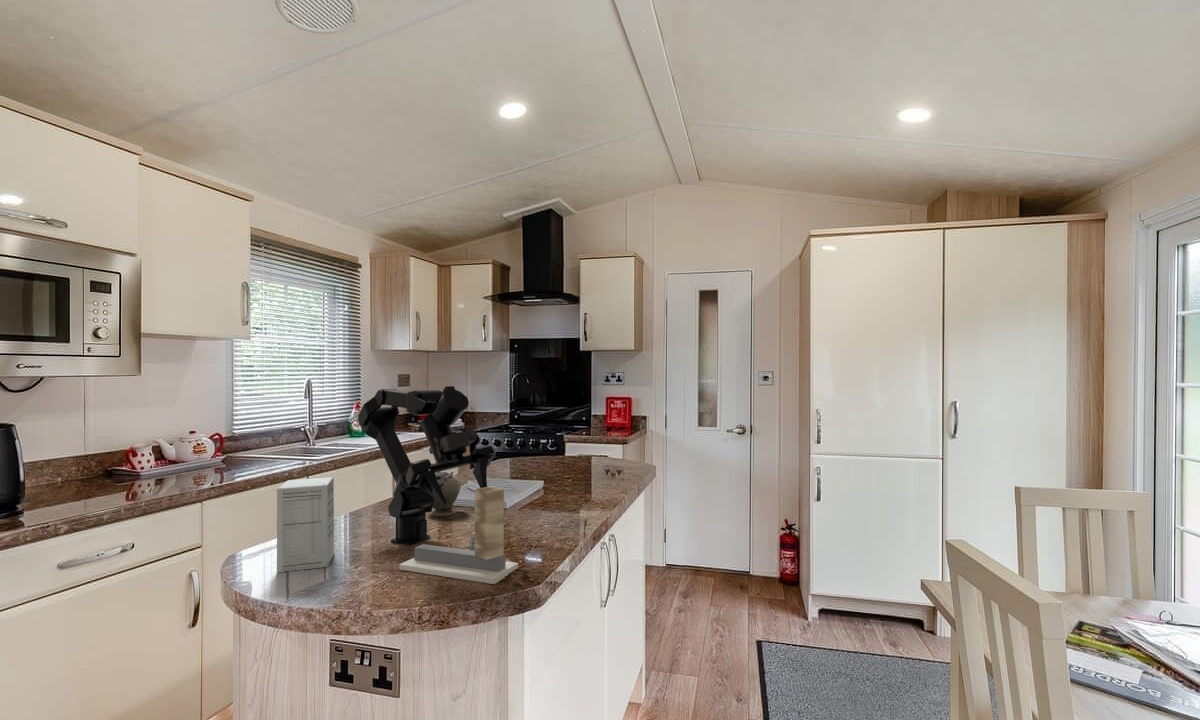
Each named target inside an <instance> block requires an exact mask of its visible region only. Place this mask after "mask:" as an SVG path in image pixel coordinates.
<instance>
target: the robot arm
mask: <svg viewBox="0 0 1200 720" xmlns="http://www.w3.org/2000/svg"><path fill="white" fill-rule="evenodd" d="M469 405H470V402H469V399H468V397H467V396H466V395H465V394H464V393H463V392H462V391H459V390H457V389H456V388H455V386H453V385H449V386H448V385H447V386H444V388H443V390H442V391H441V390H440V389H428V390H427V389H425V390H424V389H423V390H422V389H421V390H420V389H419V390H417V389H416V390H412V391H411V390H410V391H408V390H400V389H397V388H380V389H379V390H377V391H376V393H375V395H374V396H373V397H372V398H371V399H369V400H368V401H366V402H365V403H363V406H362V408H361V409H360V411H359V413H358V416H357V421H358V425H359V426H360V427H361V429H362V431H363V432H364V434H365V435H366V436H368V437H369V438H371V439H373V440H375V441H376V444H377V445H378V447H379V449H380V452H381V454H382V456H383V458H384V460H385V463H386V464H387V467H388V469H389V471H390V474H391V475H392V477H393V479H394V482H395V487H394V490H393V498H392V499H391V501H390V503H389V505H388V508H387V509H388V514H389V516H390V517H393V518H395V537H394V538H392V539H390V543H395V544H403V545H409V546H410V545H411V546H414V545H415V544H417V543H420V542H422V541H425V540H428V539H429V538H430V537H431V535H430V534H428V520H427V516H426V515H427V514H426V513H432V512H433V509H434V508H433V503H434V499H436V500H437V501H438V502H439V503H440V504H441V505H443V506H446V500H445V497H444V495H443V493H442V490H441V488H440V486H439V484H438V482H437V479H436V472H445V471H447V470H452V469H455V468H460V467H464V466H467V465H470V466H471V468H472V469H473V470H472V473H473V476H474V477H475V480H476V482H477V484H478V486H479V488H484V487H488V481H487V478H488V477H487V469H488V467H489V466H490V464H491V463H492V462H493V459H494V458H495V457H496V455H497V452H496V450H495V448H494V446H492V445H490V444H486V445H482V446H481V445H480V446H477V447H474V449H473V451H472V454H468V455H464V454H465V453H466V452H467V448H468V447H471V443H474V442H476V441H477V433H476V431H475V430H474V427H473V426H469V427H465V428H464V429H462V431H460V432H457V431H453V428H452V425H454V424H456V423H457V421H458V420H459V419H460V417H461V416H462V415H463V413H465V411H466V409H467V408H468V407H469ZM399 408H403V409H406V411H407V413H409V414H411V415H412V416H424V417H423V419H421V420H420V424H419V426H418V428H417V432H419V433H424V435H425V437H426V441H427V443H428V445H429V450H428V451H429V455H433V458H434V461H435V463H431V460H430V459H429V458H424V459H421V460H416V461H412V462H411V460H410V458H409V457H408V455H407V452H406V450H405V449H404V446H403V445H402V443H401V441H400V439H399V437H398V435H397V434H398V433H397V432H396V430H395V427H396V423H397V419H398V417H399V415H400V411H399Z"/></svg>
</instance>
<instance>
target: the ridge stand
mask: <svg viewBox="0 0 1200 720" xmlns="http://www.w3.org/2000/svg"><path fill="white" fill-rule="evenodd" d="M413 553H414V557H413V558H411V559H408V560H406V561H404V562H402V563H400V564H399V570H400V571H406V572H415V573H420V574H427V575H433V576H439V577H445V578H450V579H451V578H452V579H459V580H464V581H465V580H466V581H471V582H477V583H483V582H484V584H491V585H495V584H497V583H498V582H500V581H501V580H503V579H504V578H506V577H507V576H509V575H510V574H511V573H510V572H512V571H513V570H514V571H516V570H518V569H519V562H513V561H506V554H504V555H502V556H499V557H495V558H492V559H489V560H485V559H483V558H480V557H477V556H475V551H471V550H470V549H463V548H457V547H456V548H454V547H449V546H447V547H446V546H440V545H439V546H438V545H431V544H424V543H422V544H420V545H418V546H415V547H414V551H413ZM515 569H516V570H515ZM514 571H513V572H514ZM513 572H512V573H513ZM509 573H510V574H509ZM508 574H509V575H508ZM505 576H506V577H505Z"/></svg>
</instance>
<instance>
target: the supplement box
mask: <svg viewBox="0 0 1200 720" xmlns="http://www.w3.org/2000/svg"><path fill="white" fill-rule="evenodd" d="M334 479H335V478H334V477H332V476H331V477H318V478H317V477H315V478H305V479H303V478H300V479H289V480H286V481H285V482H284V483H282V484H281V485H280V486H279V487H278V488H276V489H277V490H276V573H277V572H279V573H284V571H287V572H294V571H295V570H296V571H303V570H304V569H305V570H311V569H312V570H313V569H319V568H328V566H329V565H330V562H331V560H332V558H334V557H333V556H334V554H335V511H334V510H335V502H334V501H335V490H334V489H335V487H334V486H335V483H334V482H335V480H334Z"/></svg>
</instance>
